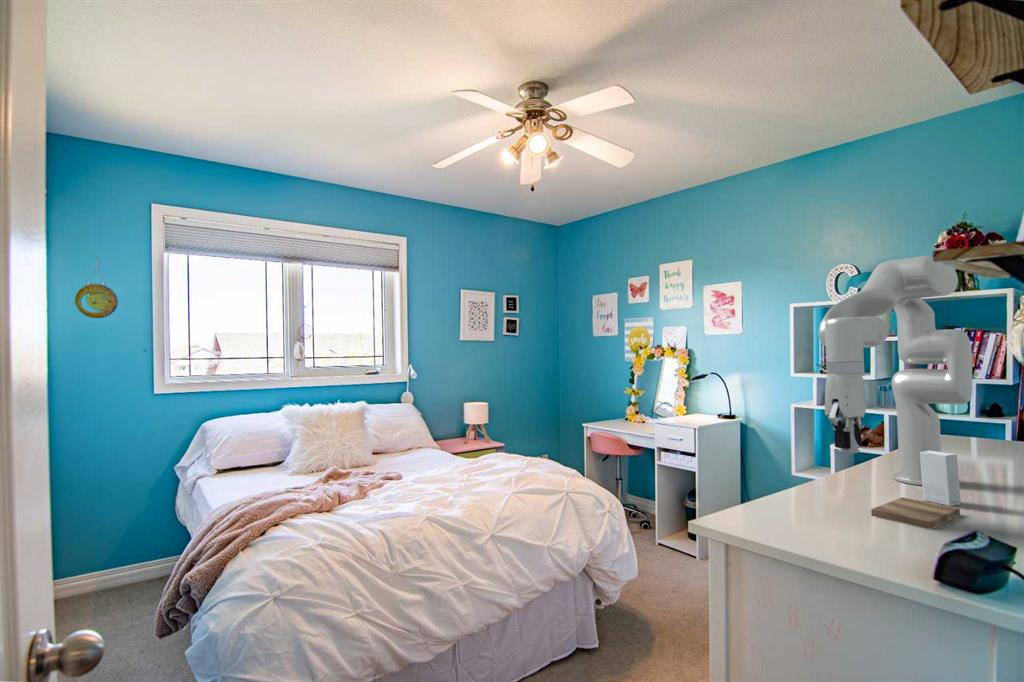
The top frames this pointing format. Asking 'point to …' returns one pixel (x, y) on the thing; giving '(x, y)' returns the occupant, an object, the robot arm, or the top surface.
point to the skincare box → (940, 478)
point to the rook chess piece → (852, 438)
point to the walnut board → (915, 512)
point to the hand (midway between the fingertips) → (848, 446)
